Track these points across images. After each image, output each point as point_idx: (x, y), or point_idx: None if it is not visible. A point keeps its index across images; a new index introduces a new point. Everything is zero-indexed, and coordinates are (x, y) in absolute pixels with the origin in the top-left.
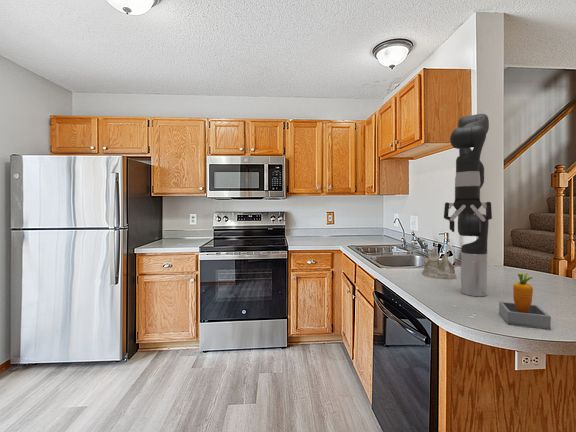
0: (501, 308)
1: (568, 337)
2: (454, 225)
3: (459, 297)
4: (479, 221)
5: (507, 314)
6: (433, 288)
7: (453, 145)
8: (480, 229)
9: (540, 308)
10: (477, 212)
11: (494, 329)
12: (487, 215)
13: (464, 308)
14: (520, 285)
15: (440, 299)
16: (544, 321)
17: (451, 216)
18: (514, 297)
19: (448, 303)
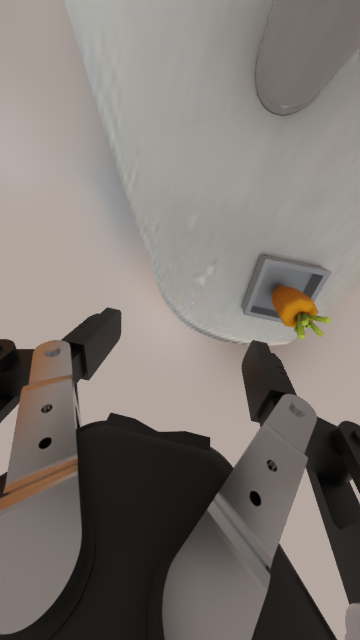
0: (257, 274)
1: (294, 336)
2: (103, 360)
3: (227, 139)
4: (269, 388)
5: (244, 309)
6: (179, 12)
7: None
8: (244, 373)
9: (318, 291)
10: (278, 477)
11: (213, 323)
12: (315, 490)
13: (206, 237)
14: (287, 323)
15: (174, 175)
16: None
17: (36, 376)
18: (275, 300)
19: (184, 207)
